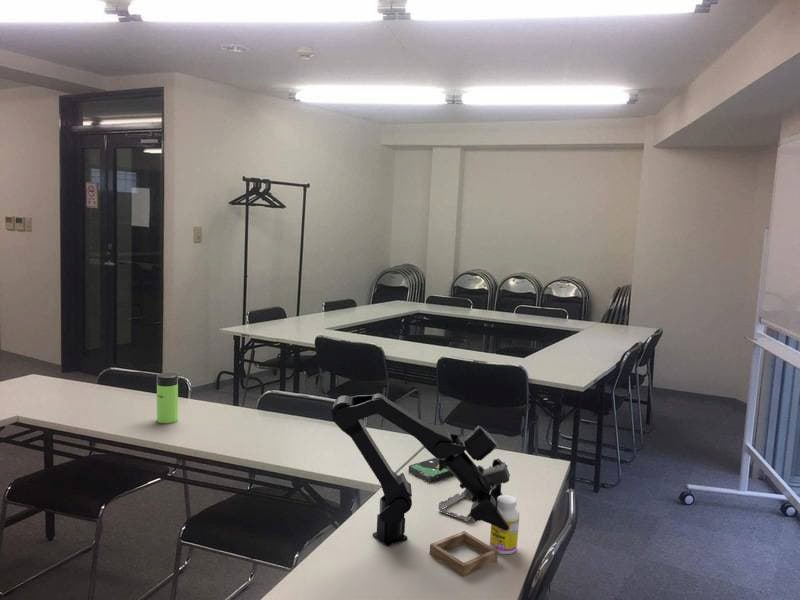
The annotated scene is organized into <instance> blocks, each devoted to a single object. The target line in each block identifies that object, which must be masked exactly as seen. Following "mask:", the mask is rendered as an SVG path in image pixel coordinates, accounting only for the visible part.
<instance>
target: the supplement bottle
mask: <svg viewBox="0 0 800 600" xmlns="http://www.w3.org/2000/svg"><path fill="white" fill-rule="evenodd" d="M497 501H498V511H499V512H500V514H501V515H502V517H503V518H504V520H505V522H506V523H507V525H508V526H509V529H508V530H506V531H505V530H503V529H501V528H498V527H496V526H494V525H492V524H490V534H489V546H490V547H492V548H494V549H495V550H497V551H498V554H502V555H510V554H513V553H515V552H516V550H518V549H517V546H518V536H519V527H520V526H519V525H520V512H519V510H518V508H517V502H518V501H517V499H516V498H515V497H514V496H512V495H508V494H502V495H501V496H499V497H498V498H497Z"/></svg>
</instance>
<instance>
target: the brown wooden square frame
mask: <svg viewBox="0 0 800 600" xmlns="http://www.w3.org/2000/svg"><path fill="white" fill-rule="evenodd" d="M462 544H465V545H466V546H468V547H469V548H470V549H472V550H474V551H476V552H478V553H479V554H480V555H478V556H477V557H474V558H471V559H469V560H467V561H465V562H464V561H462V560H460V559H459V558H457V557H456V556H454V555H452V554H451V553H449V552H448V550H450V549H452V548H454V547H457V546H460V545H462ZM429 555H431V556H432V557H434V558H435V559H436V560H438V561H439V562H441V563H442V564H444V565H445V566H447V567H448V568H450V569H451V570H452V571H454V572H455V573H457V574H458V575H460V576H461V577H465V576H467V575H470V574H471V573H473V572H476V571H479V570H481V569H483V568H485V567H487V566H489V565H491V564H493V563H496V562H498V558H499V556H498V555H499V553H498V551H497V550H495V549H494V548H492V547H490V544H487V543H485V542H484V541H482V540H481V539H479V538H477V537H475V536H473V535H471V534H470V533H469V532H467V531H465V530H463V531H460V532H457V533H456V534H453V535H450V536H447V537H445V538H442V539H439V540H438V541H435V542H431V543H430V545H429Z"/></svg>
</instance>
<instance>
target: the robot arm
mask: <svg viewBox="0 0 800 600" xmlns="http://www.w3.org/2000/svg"><path fill="white" fill-rule="evenodd" d="M330 415H331V416H330V417H331V420H332V421H333V423H335V426H337V427H338V428H339V430H341V431H342V432H343V433H345V434H346V435H347V436H348V437H350V439H351V440H352V442H353V443H354V444H355V446H356V448H357V449H358V451H359V452H360V454H361V455H362V456H363V458H364V460H365V462H366V463H367V465H368V466H369V468H370V469H371V471H372V473H373V474H374V476H375V477H376V479H377V480H378V482H379V484H380V486H381V489H382V492H383V495H382V496H381V497H380V498H379V513H378V514H377V515H376V519H377V521H376V532H372V536H373V537H374V538H375V539H376V540H378V541H379V542H381V543H382V544H384V545H385V546H387V547H389V546H393V545H394V544H398V543H400V542H403V541H406V540H408V536H407V534H405V533H406V532H405V530H406V529H405V528H406V518H405V514H407V513H408V512H410V510H411V509H412V506H413V501H412V496H413V493H412V491H413V490H412V484H411V483H410V482H409V481H408V480H407V479H406V476H405V473H404V472H401V473H400V474H397V473H396V472H395V471H394V470H393V469H392V467H391V465H389V463H388V461H387V459H386V458H385V457H384V455H383V454H382V452H381V450H380V449H379V447H378V446H377V444H376V443H375V441H374V439H373V438H372V436H371V435H370V433H369V431H368V430H367V428H366V426H365V425H364V421H363V419H366V418H369V417H371V416H375V415H379V416H380V417H382V418H384V419H385V420H387V421H389V422H390V423H392V424H393V425H395V426H396V427H398V428H400V429H401V430H403V431H405V432H406V433H407V434H409V435H410V436H412V437H414V438H415V439H416V440H417V441H419V443H420V444H421V445H422V446H423V447H424V449H425V450H426V451H428V452H429V453H430V454H431V455H432V456H433V458H438V459H439V460H438V461H439V471H441V470H443V469H444V468H445V467H446V466H447V468H448V469H449V470H450V471H451V472H452V473H453V475H454V477H455V478H456V480H457V481H458V482H459V487H460V488H461V490H463V489H464V490H465V489H466V490H467V491H468V492H469V493H470V495H471V500H472V501H471V500H470V501H471V502H473V503H472V504H471V506H470V508H471V509H470V511H469V513H470V516H471V517H472V518H471V519H472V520H473V521H474V522H478V521H479V522H481V521H482V522H485V523H487V524H490V525H491V524H492V525H494V526H496V527H498V528H501V529H503V530H505V531H506V530H508V529H509V526H508V525H507V523H506V522H505V520H504V518H503V517H502V515H501V514H500V512H499V511H498V501H497V498H498V497H499V496H501V495H503V492H502V484H506V483H508V482H509V481H510V476H511V475H510V472H509V470H508V465H507V464H506V462H504V461H502V460H501V459H500V458H499V457H498V458H494V459H493V460H492V464H491V465H490V466H489V467H487V468H484V467H483V466H482V465H479V464H478V466H477V464H476V463H475V462H474V461H477V462H479V461H482V460H484V459H485V458H487V456H489V455H490V454H491V453H492V452H493V451H495V450H496V449H497V448H498V447H499V444H498V442H496V441H495V439H494V437H492V435H491V434H490V432H488V431H486V429H484V428H483V427H482V426H481V425H477V426H476V427H475V428H474V429H473V430H472V431H471V432H470V433H469V434H468V435H466V436H465V437H464V435H461V434H455V433H451V432H449V431H448V430H447V429H445V428H442V427H440V426H438V425H436V424H432V423H427V422H425V421H423V420H421V419H420V418H418V417H417V416H415V415H414V414H412V413H410V412H409V411H407V410H405V409H404V408H402V407H401V406H399V405H398V404H396V403H395V402H393V401H391V400H390V399H389V398H387V397H386V396H385V395H384V394H382V393H375V394H369V395H368V394H364V395H363V394H362V395H361V394H360V395H353V396H349V395H340V396H337V398H335V400H334V402H333V404H332V409H331V414H330ZM465 451H466V452H465ZM469 456H470V457H469ZM473 460H474V461H473ZM477 499H478V500H477ZM476 500H477V501H476ZM474 501H476V502H474Z"/></svg>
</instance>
